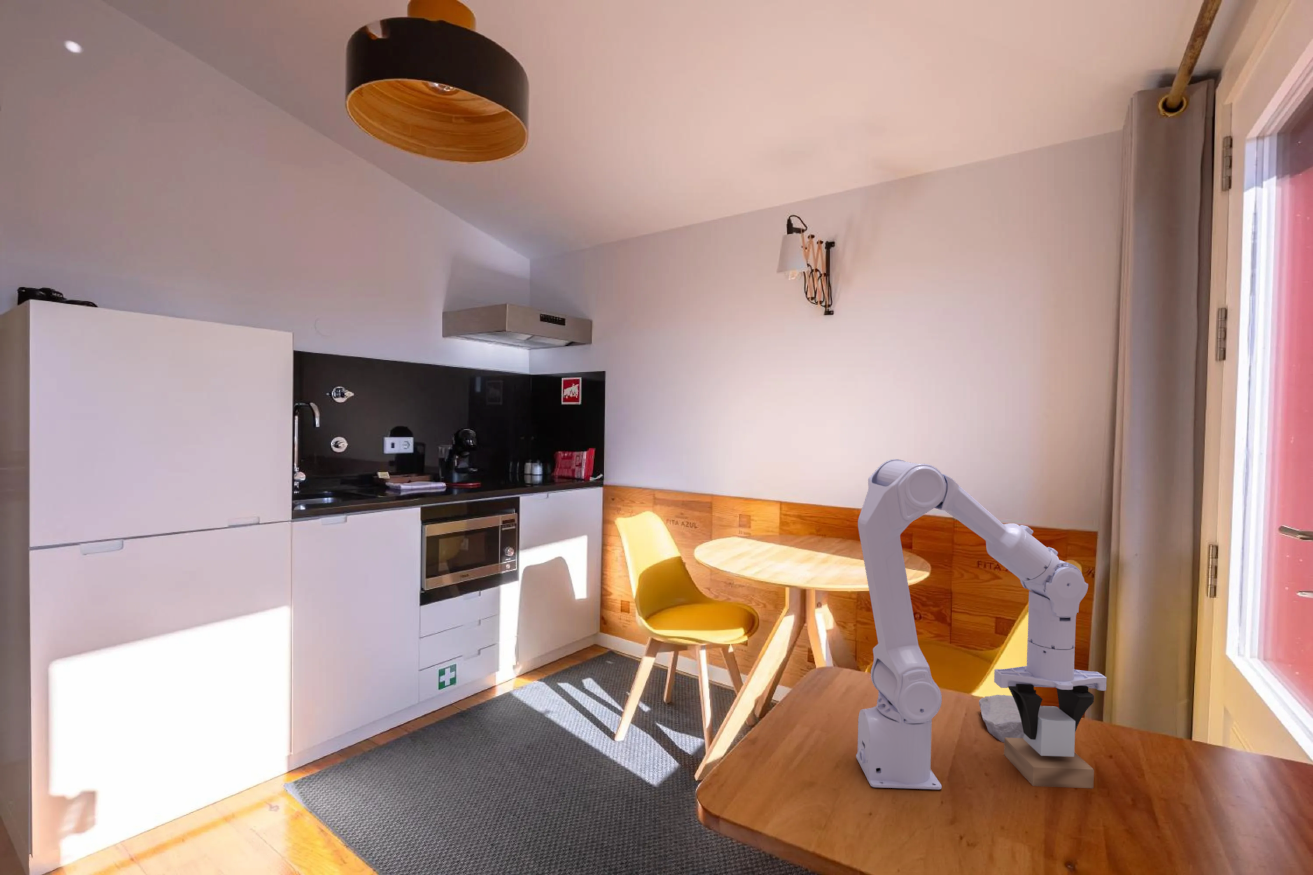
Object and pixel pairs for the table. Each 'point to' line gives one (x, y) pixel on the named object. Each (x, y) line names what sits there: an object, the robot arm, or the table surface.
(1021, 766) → the tan square block
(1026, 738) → the light grey block
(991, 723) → the stone block
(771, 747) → the table surface
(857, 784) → the table surface
